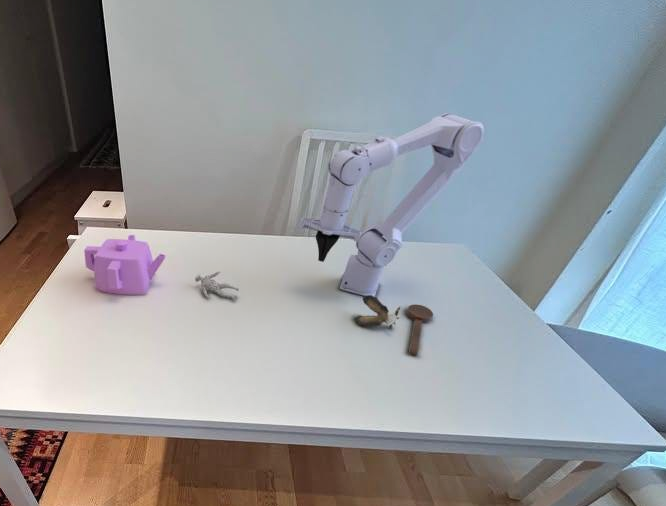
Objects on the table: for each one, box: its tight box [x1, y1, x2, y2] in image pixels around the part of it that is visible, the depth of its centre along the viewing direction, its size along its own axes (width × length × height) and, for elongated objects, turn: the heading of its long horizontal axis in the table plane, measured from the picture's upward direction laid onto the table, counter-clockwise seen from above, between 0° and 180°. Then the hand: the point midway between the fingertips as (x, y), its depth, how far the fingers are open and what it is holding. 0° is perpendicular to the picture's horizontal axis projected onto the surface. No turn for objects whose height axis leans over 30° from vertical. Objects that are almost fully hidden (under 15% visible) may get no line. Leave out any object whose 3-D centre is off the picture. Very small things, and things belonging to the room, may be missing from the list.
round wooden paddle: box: [405, 303, 434, 357], centre depth 95 cm, size 20×6×1 cm, turn 153°
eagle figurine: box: [353, 295, 401, 330], centre depth 95 cm, size 8×7×9 cm
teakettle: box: [83, 234, 167, 296], centre depth 104 cm, size 17×17×12 cm
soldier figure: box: [194, 271, 240, 300], centre depth 104 cm, size 8×5×12 cm
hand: (321, 259), depth 99 cm, fingers closed
